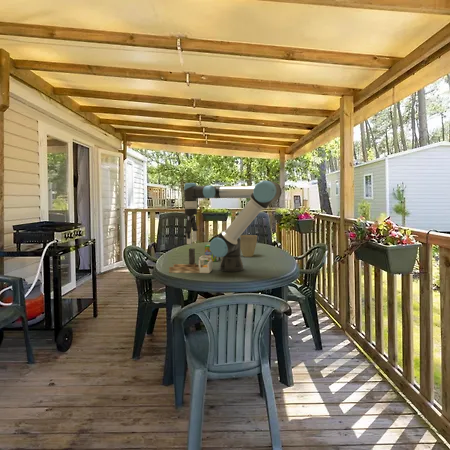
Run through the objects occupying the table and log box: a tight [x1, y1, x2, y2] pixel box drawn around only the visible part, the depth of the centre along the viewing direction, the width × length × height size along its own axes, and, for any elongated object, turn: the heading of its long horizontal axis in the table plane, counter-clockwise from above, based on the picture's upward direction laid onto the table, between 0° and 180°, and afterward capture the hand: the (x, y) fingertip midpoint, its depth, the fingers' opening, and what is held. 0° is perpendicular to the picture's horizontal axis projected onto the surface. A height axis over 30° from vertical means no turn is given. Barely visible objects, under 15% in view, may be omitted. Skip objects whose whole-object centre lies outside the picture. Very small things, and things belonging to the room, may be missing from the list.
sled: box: [187, 248, 197, 267], centre depth 221 cm, size 4×6×12 cm, turn 172°
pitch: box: [168, 263, 203, 274], centre depth 222 cm, size 19×12×3 cm, turn 82°
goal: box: [198, 255, 213, 274], centre depth 220 cm, size 6×10×9 cm, turn 172°
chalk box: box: [204, 243, 221, 263], centre depth 259 cm, size 9×9×15 cm
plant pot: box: [240, 234, 258, 258], centre depth 276 cm, size 15×15×16 cm
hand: (191, 242), depth 220 cm, fingers open, 13 cm apart
